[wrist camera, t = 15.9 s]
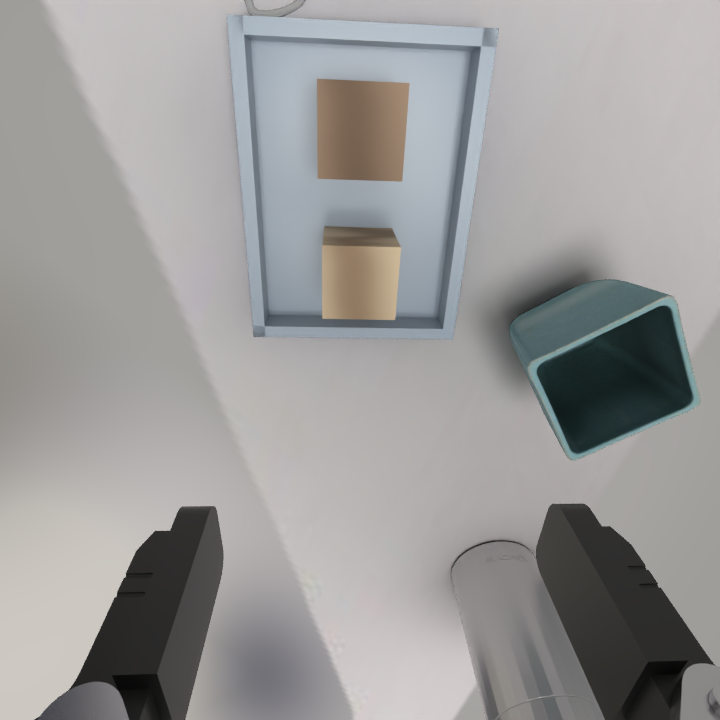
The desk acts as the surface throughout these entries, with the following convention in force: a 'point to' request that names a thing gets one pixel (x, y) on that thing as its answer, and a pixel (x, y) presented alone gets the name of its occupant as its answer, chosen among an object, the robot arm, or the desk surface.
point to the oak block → (360, 273)
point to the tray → (356, 197)
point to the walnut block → (361, 129)
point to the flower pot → (605, 362)
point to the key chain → (275, 12)
